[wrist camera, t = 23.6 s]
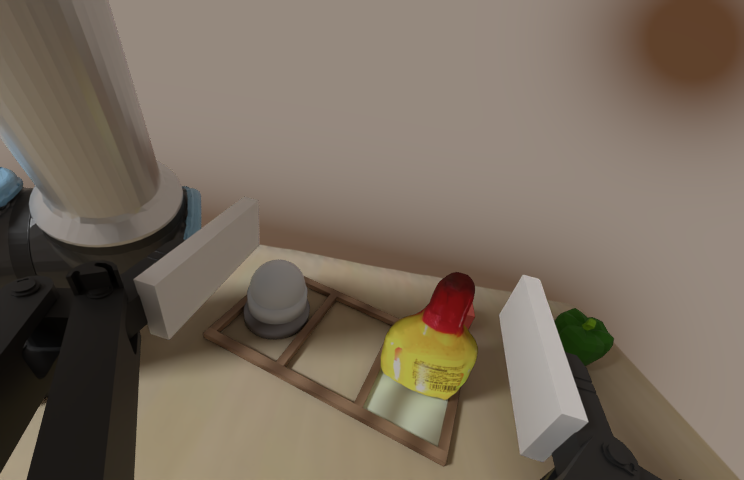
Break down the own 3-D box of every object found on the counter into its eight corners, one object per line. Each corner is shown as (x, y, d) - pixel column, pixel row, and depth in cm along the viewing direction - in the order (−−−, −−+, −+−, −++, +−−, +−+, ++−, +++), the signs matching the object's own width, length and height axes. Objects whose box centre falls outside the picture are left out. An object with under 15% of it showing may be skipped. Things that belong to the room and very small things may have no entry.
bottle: (369, 383, 44) (408, 276, 33) (380, 347, 50) (416, 244, 38) (453, 415, 43) (523, 315, 32) (455, 374, 48) (515, 276, 37)
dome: (235, 311, 48) (231, 270, 44) (271, 278, 55) (272, 240, 51) (284, 336, 46) (286, 296, 42) (316, 298, 53) (320, 261, 49)
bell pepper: (557, 330, 61) (586, 292, 55) (597, 367, 55) (634, 329, 50) (528, 342, 57) (556, 303, 51) (568, 383, 51) (605, 344, 46)
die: (444, 326, 56) (452, 308, 54) (443, 310, 60) (451, 292, 57) (466, 332, 56) (476, 314, 54) (464, 315, 60) (473, 297, 57)
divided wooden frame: (203, 337, 46) (202, 330, 45) (280, 269, 61) (280, 263, 60) (443, 466, 38) (447, 461, 37) (465, 353, 52) (469, 347, 52)
